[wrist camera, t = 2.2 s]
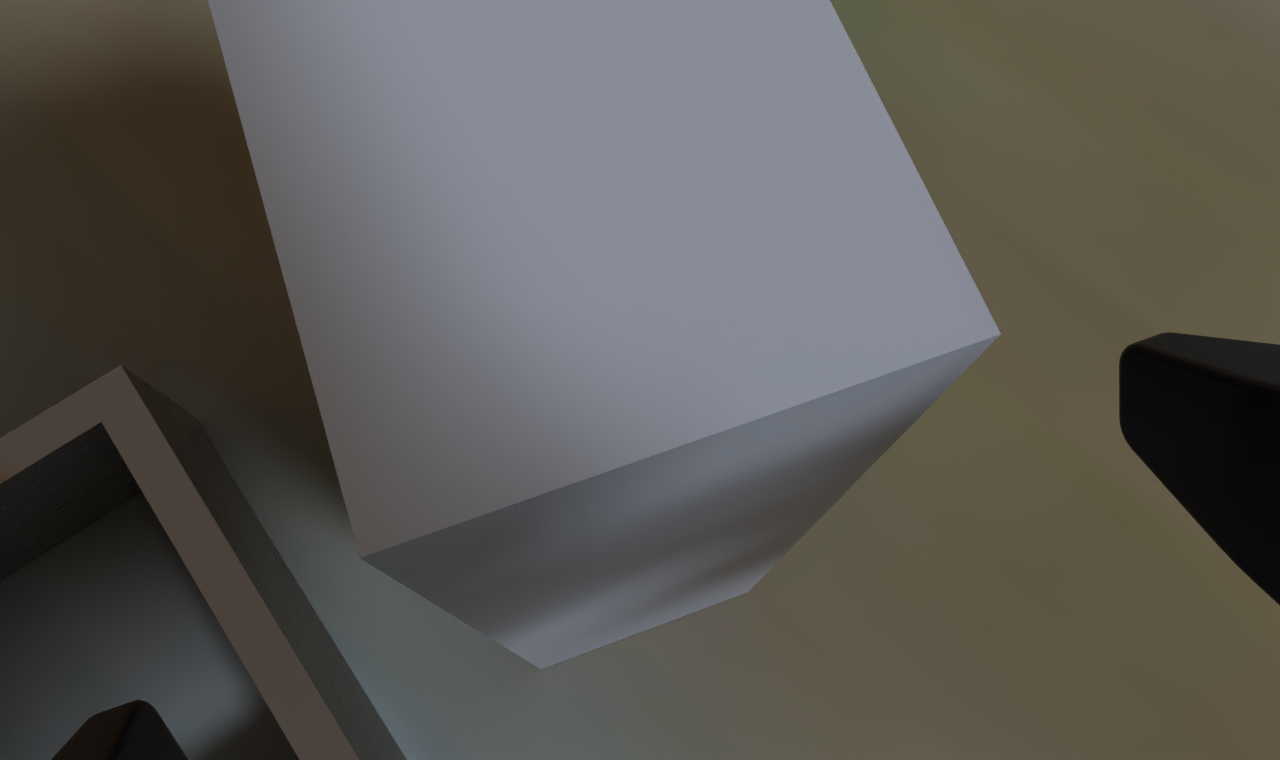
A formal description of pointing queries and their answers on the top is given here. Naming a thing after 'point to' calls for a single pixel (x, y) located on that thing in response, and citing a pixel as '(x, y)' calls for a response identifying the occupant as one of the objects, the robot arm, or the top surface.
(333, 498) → the top surface
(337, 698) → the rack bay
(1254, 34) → the top surface
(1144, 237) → the top surface
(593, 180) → the grey rectangular prism
